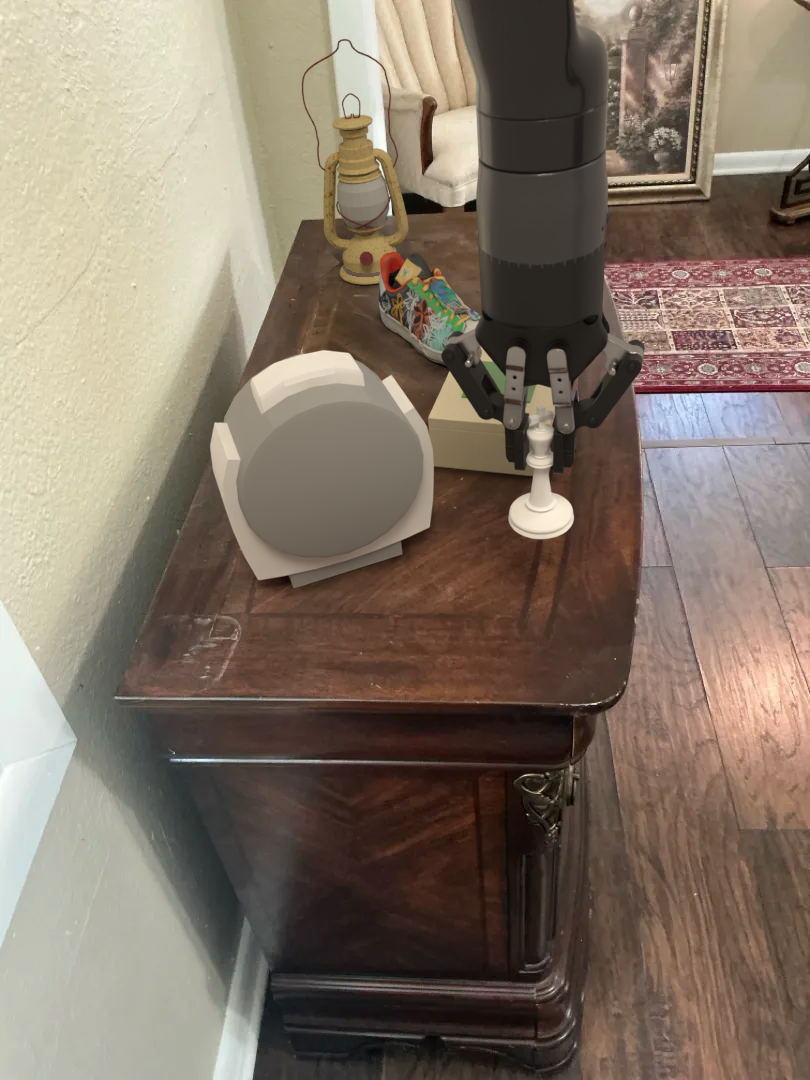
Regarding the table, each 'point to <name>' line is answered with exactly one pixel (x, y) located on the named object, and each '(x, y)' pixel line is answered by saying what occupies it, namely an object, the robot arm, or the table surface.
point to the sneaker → (421, 304)
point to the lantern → (361, 193)
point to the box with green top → (477, 427)
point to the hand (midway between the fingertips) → (541, 464)
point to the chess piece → (540, 488)
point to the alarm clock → (322, 468)
